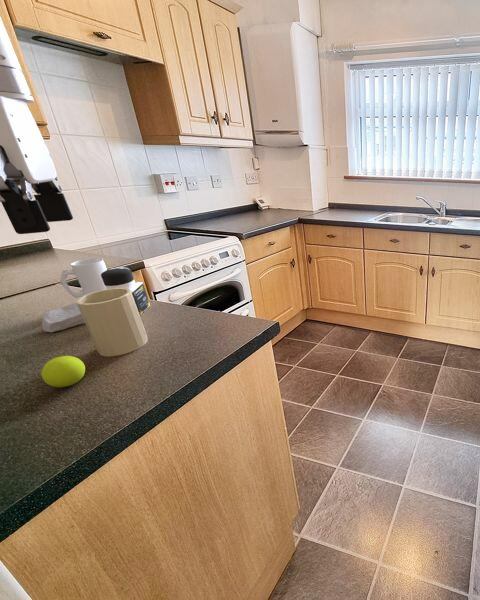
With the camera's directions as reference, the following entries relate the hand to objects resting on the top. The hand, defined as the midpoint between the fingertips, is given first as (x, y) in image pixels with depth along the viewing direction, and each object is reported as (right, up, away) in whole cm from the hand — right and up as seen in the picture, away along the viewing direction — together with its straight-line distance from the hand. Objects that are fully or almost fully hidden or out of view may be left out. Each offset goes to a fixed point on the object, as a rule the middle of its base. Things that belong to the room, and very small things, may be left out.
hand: (48, 226), depth 48 cm
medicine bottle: (-22, -14, +42) cm, 49 cm away
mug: (-36, -12, +48) cm, 61 cm away
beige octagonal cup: (-11, -21, +26) cm, 35 cm away
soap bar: (-32, -17, +36) cm, 51 cm away
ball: (-11, -24, +13) cm, 29 cm away
